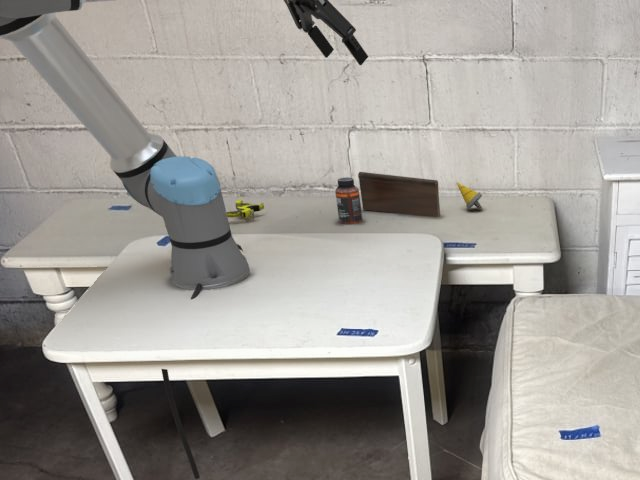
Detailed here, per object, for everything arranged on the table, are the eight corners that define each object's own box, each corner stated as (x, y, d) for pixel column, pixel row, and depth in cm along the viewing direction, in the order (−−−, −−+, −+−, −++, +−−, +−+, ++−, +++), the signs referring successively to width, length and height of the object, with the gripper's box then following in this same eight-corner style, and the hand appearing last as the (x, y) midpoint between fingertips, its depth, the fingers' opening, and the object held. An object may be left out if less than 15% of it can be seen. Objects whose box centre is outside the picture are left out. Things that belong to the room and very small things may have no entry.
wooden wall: (437, 218, 193) (435, 181, 187) (362, 209, 197) (357, 173, 192) (440, 216, 194) (438, 179, 188) (366, 207, 199) (361, 170, 193)
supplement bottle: (365, 220, 191) (360, 176, 186) (358, 226, 186) (353, 181, 180) (343, 219, 192) (338, 176, 186) (336, 226, 187) (330, 181, 181)
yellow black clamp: (237, 196, 194) (264, 197, 194) (240, 211, 196) (266, 211, 196) (220, 208, 184) (248, 209, 184) (223, 223, 186) (251, 224, 186)
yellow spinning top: (476, 214, 195) (449, 187, 193) (475, 218, 200) (449, 191, 199) (490, 201, 195) (463, 173, 194) (488, 204, 201) (463, 177, 199)
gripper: (330, -38, 144) (389, 51, 161) (265, -44, 158) (325, 39, 175) (306, -11, 143) (368, 76, 160) (243, -19, 157) (306, 61, 174)
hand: (346, 57), depth 168 cm, fingers open, 13 cm apart
